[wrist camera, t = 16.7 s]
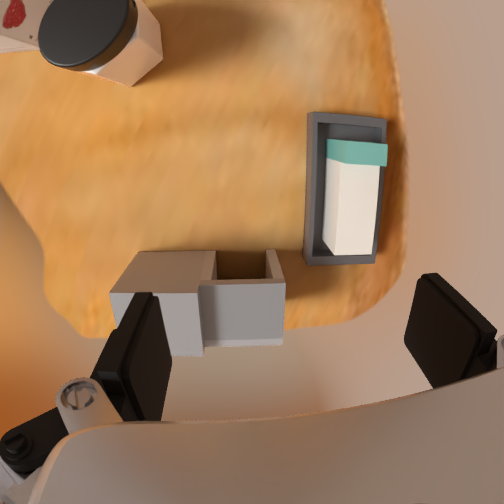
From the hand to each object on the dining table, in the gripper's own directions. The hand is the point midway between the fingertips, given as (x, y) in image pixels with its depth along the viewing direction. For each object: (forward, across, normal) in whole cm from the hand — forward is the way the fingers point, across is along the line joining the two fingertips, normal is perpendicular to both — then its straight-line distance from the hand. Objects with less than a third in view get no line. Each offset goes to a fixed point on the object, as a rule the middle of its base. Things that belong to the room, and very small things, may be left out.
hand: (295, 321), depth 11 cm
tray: (+25, -10, +1) cm, 26 cm away
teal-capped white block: (+24, -9, +2) cm, 26 cm away
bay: (+24, +6, +11) cm, 27 cm away
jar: (+25, +13, -16) cm, 33 cm away
